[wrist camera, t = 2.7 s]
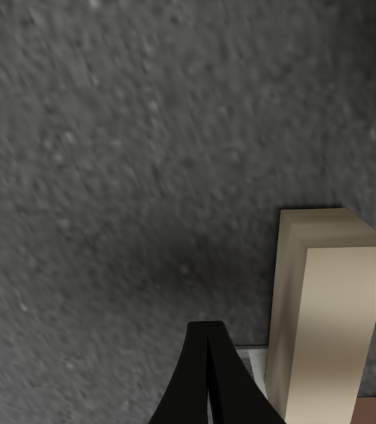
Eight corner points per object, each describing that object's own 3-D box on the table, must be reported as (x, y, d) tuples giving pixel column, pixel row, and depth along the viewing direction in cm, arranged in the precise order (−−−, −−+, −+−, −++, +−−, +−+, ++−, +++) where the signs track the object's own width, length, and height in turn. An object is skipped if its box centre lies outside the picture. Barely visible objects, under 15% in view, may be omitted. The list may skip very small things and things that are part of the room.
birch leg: (313, 401, 19) (343, 478, 16) (263, 402, 19) (281, 479, 16) (348, 208, 14) (403, 253, 11) (280, 209, 14) (312, 255, 11)
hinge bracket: (319, 344, 18) (357, 422, 14) (308, 405, 20) (339, 489, 16) (212, 346, 18) (220, 425, 14) (212, 407, 20) (219, 491, 16)
